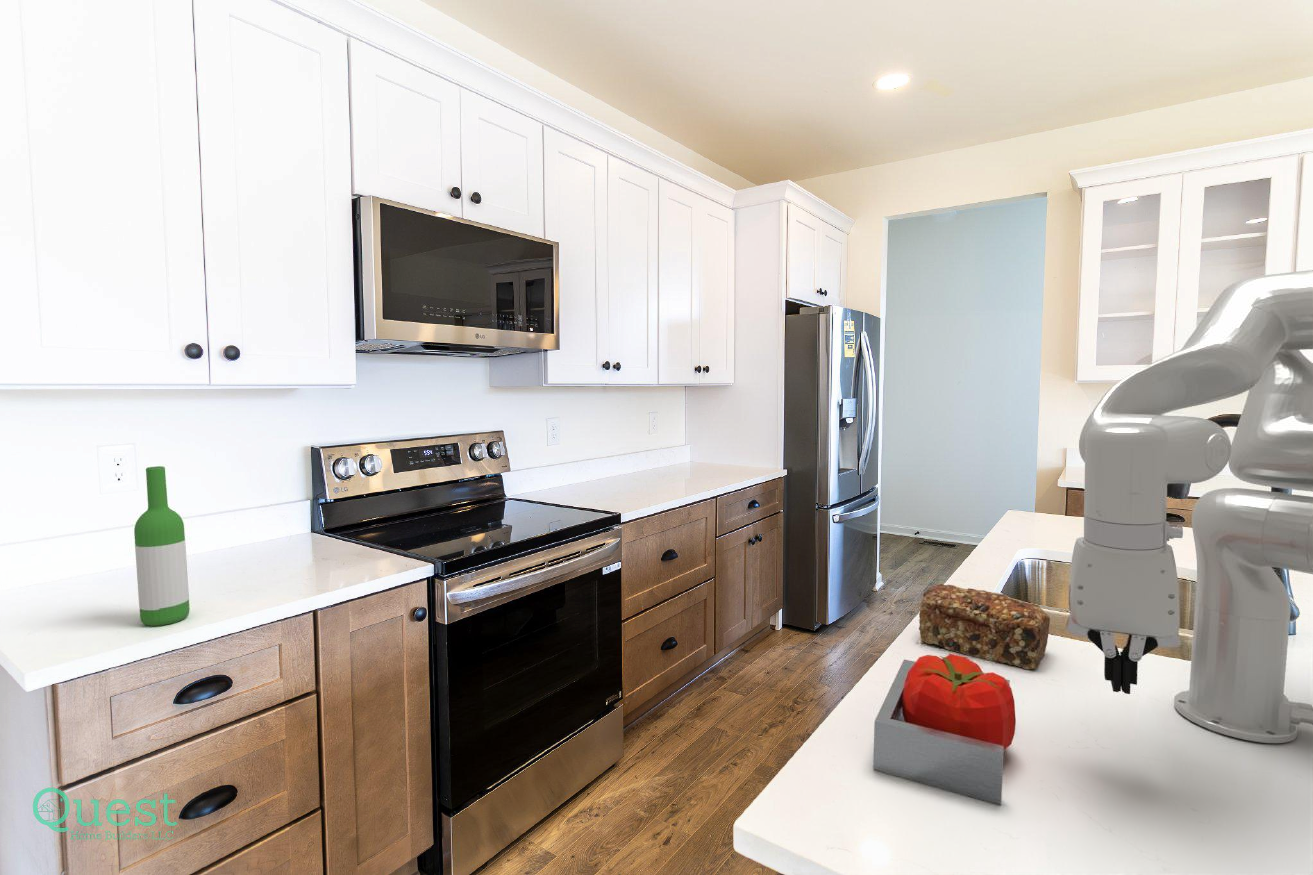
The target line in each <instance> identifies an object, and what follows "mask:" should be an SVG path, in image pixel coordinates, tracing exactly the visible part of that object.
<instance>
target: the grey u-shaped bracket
mask: <svg viewBox="0 0 1313 875" xmlns="http://www.w3.org/2000/svg"><path fill="white" fill-rule="evenodd" d="M915 662H916V660H915V661H914V660H910V659H903V660H902V663H901V664H900V667H899V669H898V671H897V673H896V674H895V675H896V676H895V678H894V680H893V681H892V684H891V686H890V688H889V690H888V692H887V694H886V696H885V698H884V701H883V702H882V704H881V707H880V709H879V712H878V713H877V715H876V717H875V719H874V726H873V727H874V730H873V766H872V768H873V770H874V771H878V772H881V773H884V774H888V775H891V776H894V777H899V778H902V779H904V780H905V779H906V780H909V781H913V782H916V783H920V784H922V785H923V784H924V785H928V786H930V787H934V788H938V789H941V790H945V791H948V792H951V793H955V794H959V795H962V796H966V797H969V798H973V799H975V800H976V799H977V800H980V801H984V802H987V803H990V804H993V805H994V804H995V805H998V806H1001V805H1002V798H1003V797H1002V795H1003V793H1002V792H1003V772H1004V771H1003V769H1004V753H1005V751H1004V746H1001V745H997V744H993V743H989V742H984V741H980V740H976V739H972V738H968V737H964V736H960V735H955V734H951V733H947V732H943V731H939V730H935V729H931V728H926V727H922V726H918V725H914V724H910V723H906V722H905V720H904V717H903V714H902V697H903V690H904V683H905V680H906V677H907V674H908V671H909V670H910V669H911V668H912V666H913V665H914V664H915ZM1006 681H1007V682H1008V684H1009V686H1010V685H1011V684H1010V683H1011V680H1010V679H1006ZM1010 687H1011V686H1010Z"/></svg>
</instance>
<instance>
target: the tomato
mask: <svg viewBox="0 0 1313 875" xmlns="http://www.w3.org/2000/svg"><path fill="white" fill-rule="evenodd" d="M1006 680H1007V679H1006V678H1005V677H1004V676H1002V675H1000V674H997V673H995V672H984V671H983V670H982V668H981V667H980V665H979V664H978V663H976V662H974V661H972V660H970V659H969V658H967V657H965V656H962V655H957V654H952V653H950V654H948V655H946V656H944V657H943V656H941V655H939V656H936V655H932V654H926V655H923V656H919V657H918V658H917V660H915V664H914V665H913V666H912V668H911V669H910V670H909V671H908V674H907V677H906V680H905V683H904V690H903V697H902V714H903V717H904V720H905V722H906V723H910V724H914V725H918V726H922V727H926V728H931V729H935V730H939V731H943V732H947V733H951V734H955V735H960V736H964V737H968V738H972V739H976V740H980V741H984V742H989V743H993V744H997V745H1001V746H1004V752H1005V751H1006V749H1008V748H1009V747H1010V746H1011V745H1012V743H1013V739H1014V737H1015V733H1016V724H1017V722H1016V721H1017V720H1016V708H1015V706H1016V704H1015V698H1014V694H1013V690H1012V687H1011V686H1009V684H1008V682H1007V681H1006Z"/></svg>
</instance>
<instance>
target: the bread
mask: <svg viewBox="0 0 1313 875" xmlns="http://www.w3.org/2000/svg"><path fill="white" fill-rule="evenodd" d="M918 615H919V621H918V622H919V626H918V630H919V634H920V640H921V642H923V643H925V644H927V645H929V646H931V645H932V644H933V645H937V646H939V647H940V648H945V649H946V650H948V651H952V652H955V653H957V654H958V653H959V654H960V653H961V654H963V655H966V656H971V657H974V658H977V659H981V660H984V661H989V662H992V663H1002V664H1008V665H1010V666H1012V665H1013V666H1015V667H1016V666H1017V667H1018V668H1023V669H1024V670H1035V669H1036V668H1037V667H1038V666H1039V664H1040V663H1039V662H1040V661H1041V660H1042V659H1043V658H1044V656H1045V653H1046V649H1047V646H1048V639H1049V633H1050V632H1049V631H1050V621H1051V619H1050V615H1049V614H1047V613H1046V612H1045V610H1044V609H1043V608H1041V607H1040V605H1038V604H1034V603H1031V602H1030V603H1029V602H1026V601H1023V600H1021V599H1015V598H1012V597H1009V596H1008V595H1007V594H1003V593H1000V592H993V591H988V590H987V591H986V590H982V589H975V588H970V587H969V588H962V587H959V586H956V585H953V584H946V585H945V584H942V583H941V584H937V585H936V584H935V585H933V586H931V587H929V588H928V589H927V590H926V591H924V592H923V594H922V598H921V602H920V607H919V613H918Z"/></svg>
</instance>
